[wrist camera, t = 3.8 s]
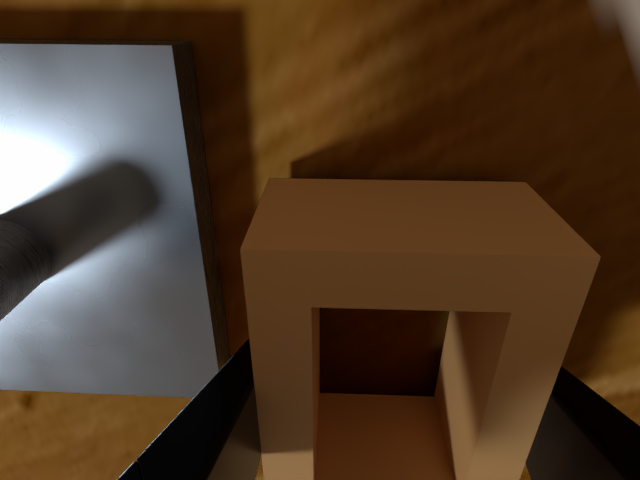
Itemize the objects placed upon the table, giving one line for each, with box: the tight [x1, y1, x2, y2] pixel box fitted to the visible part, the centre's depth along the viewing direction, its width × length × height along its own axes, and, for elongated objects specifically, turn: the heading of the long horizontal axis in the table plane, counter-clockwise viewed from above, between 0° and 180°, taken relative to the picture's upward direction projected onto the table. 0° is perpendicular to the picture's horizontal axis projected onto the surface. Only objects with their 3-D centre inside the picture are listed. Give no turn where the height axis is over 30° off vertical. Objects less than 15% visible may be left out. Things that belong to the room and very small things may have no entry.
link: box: [240, 178, 601, 480], centre depth 9 cm, size 7×5×3 cm
